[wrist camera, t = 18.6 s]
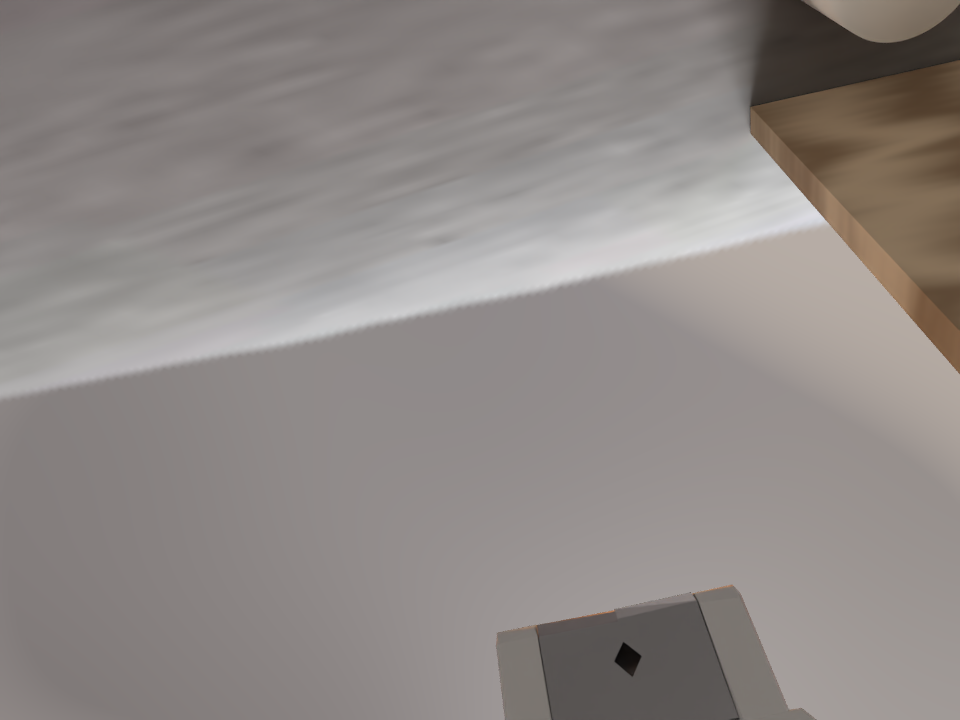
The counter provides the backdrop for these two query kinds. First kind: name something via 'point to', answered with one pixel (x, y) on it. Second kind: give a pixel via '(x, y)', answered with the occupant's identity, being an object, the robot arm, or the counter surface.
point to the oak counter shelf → (884, 182)
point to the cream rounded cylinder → (885, 16)
